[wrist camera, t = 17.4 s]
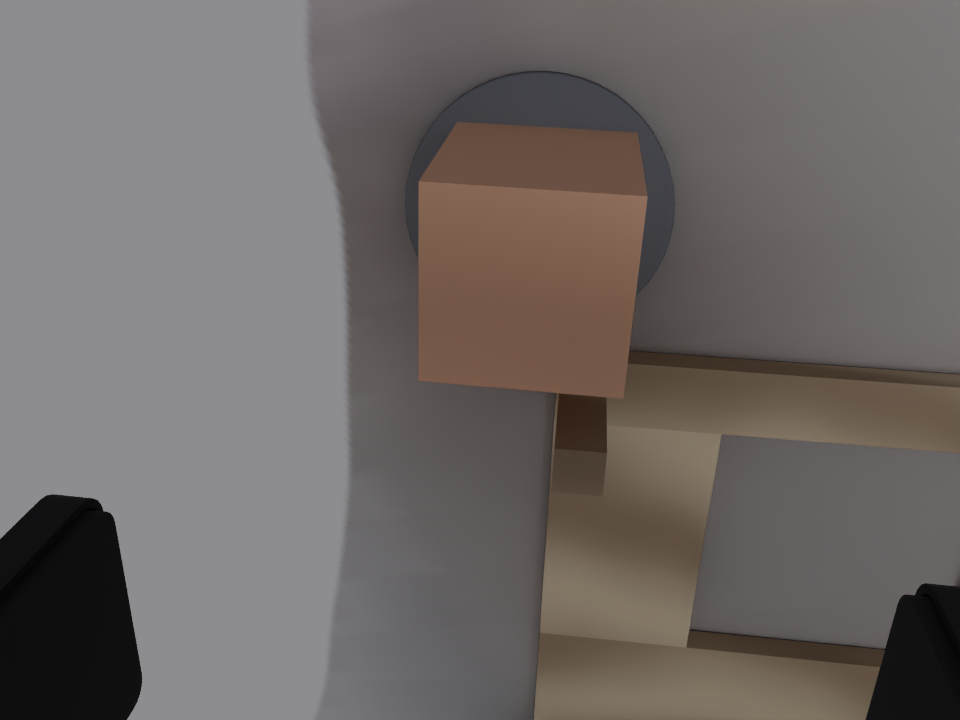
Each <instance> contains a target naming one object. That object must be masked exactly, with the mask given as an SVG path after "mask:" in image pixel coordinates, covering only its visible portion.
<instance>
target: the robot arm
mask: <svg viewBox="0 0 960 720" xmlns="http://www.w3.org/2000/svg"><path fill="white" fill-rule="evenodd" d="M141 684H142V672H141V667H140V661H139V655H138V650H137V644H136V639H135V633H134V627H133V622H132V616H131V610H130V605H129V599H128V594H127V588H126V582H125V576H124V571H123V565H122V560H121V554H120V548H119V543H118V537H117V532H116V526H115V521H114V518H113V516H112V515H111V514H110V513H108V512H103V508H102V506H101V504H100V503H99V502H98V500H95V499H92V498H82V497H73V496H63V495H47V496H45V497H44V498H42V499H41V500H40V501H39V502H38V503H37V504H36V505H35V506H34V507H33V508H31V509H30V510H29V512H27V513H26V514H25V515H24V516H23V517H22V518H21V519H20V520H19V521H18V522H17V523H16V524H15V525H14V526H13V527H12V528H11V529H10V530H9V531H8V532H7V533H6V534H5V535H4V536H3V537H2V538H1V539H0V720H127V718H128V717H129V715H130V714H131V712H132V710H133V708H134V707H135V705H136V703H137V701H138V698H139V695H140V691H141V686H142V685H141ZM866 720H960V587H955V586H945V585H936V584H922V585H921V586H920V587H919V588H918V589H917V592H916V594H915V595H903V596H902V597H901V598H900V600H899V603H898V606H897V609H896V613H895V616H894V620H893V623H892V627H891V630H890V634H889V638H888V641H887V645H886V648H885V652H884V655H883V659H882V663H881V666H880V670H879V673H878V677H877V680H876V684H875V688H874V691H873V695H872V698H871V702H870V705H869V709H868V712H867V716H866Z"/></svg>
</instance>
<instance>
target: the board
mask: <svg viewBox="0 0 960 720" xmlns="http://www.w3.org/2000/svg"><path fill="white" fill-rule="evenodd" d="M722 434H724V435H736V436H749V437H762V438H774V439H787V440H800V441H812V442H825V443H838V444H850V445H863V446H875V447H888V448H901V449H913V450H926V451H939V452H951V453H960V375H959V374H945V373H931V372H917V371H903V370H889V369H875V368H861V367H847V366H832V365H818V364H804V363H790V362H776V361H762V360H748V359H734V358H720V357H706V356H692V355H678V354H664V353H650V352H636V351H629V356H628V365H627V373H626V381H625V390H624V398H623V399H621V398H609V397H597V396H586V395H574V394H562V393H556V401H555V416H554V431H553V445H552V460H551V475H550V490H549V504H548V519H547V534H546V548H545V563H544V578H543V592H542V607H541V622H540V637H539V651H538V666H537V681H536V695H535V710H534V720H866V716H867V712H868V709H869V705H870V702H871V698H872V695H873V691H874V688H875V684H876V680H877V677H878V673H879V670H880V666H881V663H882V659H883V655H884V652H885V650H881V649H871V648H861V647H851V646H841V645H831V644H821V643H811V642H801V641H791V640H781V639H771V638H761V637H751V636H740V635H730V634H720V633H710V632H700V631H690V630H689V628H690V622H691V616H692V610H693V604H694V598H695V592H696V586H697V580H698V574H699V568H700V561H701V555H702V549H703V543H704V537H705V531H706V525H707V519H708V513H709V507H710V501H711V495H712V489H713V483H714V477H715V471H716V465H717V459H718V453H719V447H720V441H721V435H722Z"/></svg>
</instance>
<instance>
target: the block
mask: <svg viewBox="0 0 960 720" xmlns="http://www.w3.org/2000/svg"><path fill="white" fill-rule="evenodd" d="M647 198H648V196H647V189H646V183H645V176H644V170H643V164H642V157H641V151H640V145H639V138H638V132H621V131H604V130H588V129H571V128H554V127H537V126H521V125H504V124H487V123H470V122H457V123H456V125H455V126H454V128H453V129H452V131H451V132H450V134H449V135H448V137H447V139H446V140H445V142H444V143H443V145H442V146H441V148H440V149H439V151H438V152H437V154H436V155H435V157H434V159H433V160H432V162H431V163H430V165H429V166H428V168H427V169H426V171H425V172H424V174H423V175H422V177H421V179H420V180H419V241H418V381H423V382H434V383H446V384H458V385H469V386H481V387H493V388H504V389H516V390H527V391H539V392H551V393H562V394H574V395H586V396H597V397H609V398H621V399H623V398H624V390H625V381H626V373H627V365H628V356H629V348H630V340H631V331H632V323H633V315H634V306H635V298H636V290H637V281H638V273H639V265H640V256H641V248H642V239H643V231H644V223H645V214H646V206H647Z"/></svg>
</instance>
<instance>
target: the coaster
mask: <svg viewBox="0 0 960 720" xmlns="http://www.w3.org/2000/svg"><path fill="white" fill-rule="evenodd" d="M457 122H470V123H487V124H504V125H521V126H537V127H554V128H571V129H588V130H604V131H621V132H638V138H639V145H640V151H641V157H642V164H643V170H644V176H645V183H646V189H647V196H648V198H647V206H646V214H645V223H644V231H643V239H642V248H641V256H640V265H639V273H638V281H637V290H636V296H637V295H638V293H639V292H640V291H641V290H642V289H643V288H644V287H645V286H646V284H647V283H648V282H649V280H650V279H651V277H652V276H653V274H654V273H655V272H656V270H657V269H658V266H659V264H660V262H661V260H662V258H663V256H664V254H665V252H666V249H667V246H668V243H669V240H670V237H671V232H672V226H673V221H674V204H675V202H674V191H673V183H672V179H671V174H670V170H669V166H668V163H667V160H666V157H665V155H664V152H663V150H662V147H661V145H660V144H659V142H658V140H657V138H656V136H655V134H654V133H653V131H652V130H651V128H650V127H649V126H648V124H647V123H646V122H645V120H644V119H643V118H642V117H641V116H640V115H639V114H638V113H637V112H636V111H635V110H634V109H633V108H632V107H631V106H630V105H629V104H628V103H627V102H625V101H624V100H623V99H622V98H620V97H619V96H618V95H616V94H615V93H613V92H611V91H610V90H608V89H606V88H604V87H603V86H601V85H599V84H597V83H594V82H592V81H589V80H587V79H584V78H581V77H577V76H573V75H569V74H565V73H558V72H549V71H533V72H522V73H516V74H510V75H506V76H503V77H500V78H496V79H493V80H490V81H488V82H486V83H484V84H482V85H480V86H477V87H475V88H474V89H472V90H471V91H469V92H467V93H466V94H464V95H463V96H461V97H460V98H459V99H457V100H456V101H455V102H454V103H453V104H451V105H450V106H449V107H448V108H447V109H446V110H445V111H444V112H443V113H442V114H441V115H440V117H439V118H438V119H437V120H436V121H435V122H434V124H433V125H432V126H431V128H430V129H429V131H428V132H427V134H426V135H425V137H424V138H423V140H422V142H421V144H420V146H419V148H418V150H417V152H416V154H415V156H414V159H413V162H412V165H411V168H410V171H409V176H408V182H407V187H406V204H405V206H406V218H407V225H408V230H409V234H410V239H411V241H412V244H413V247H414V250H415V253H416V255H417V257H418V241H419V180H420V179H421V177H422V175H423V174H424V172H425V171H426V169H427V168H428V166H429V165H430V163H431V162H432V160H433V159H434V157H435V155H436V154H437V152H438V151H439V149H440V148H441V146H442V145H443V143H444V142H445V140H446V139H447V137H448V135H449V134H450V132H451V131H452V129H453V128H454V126H455V125H456V123H457Z"/></svg>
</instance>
